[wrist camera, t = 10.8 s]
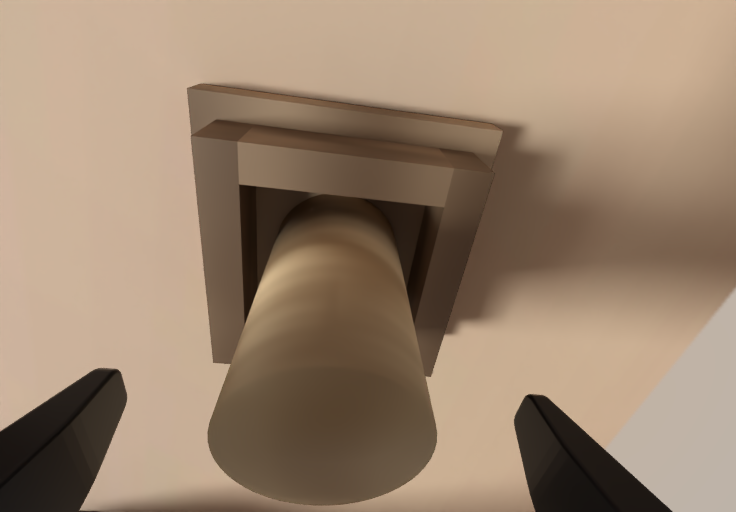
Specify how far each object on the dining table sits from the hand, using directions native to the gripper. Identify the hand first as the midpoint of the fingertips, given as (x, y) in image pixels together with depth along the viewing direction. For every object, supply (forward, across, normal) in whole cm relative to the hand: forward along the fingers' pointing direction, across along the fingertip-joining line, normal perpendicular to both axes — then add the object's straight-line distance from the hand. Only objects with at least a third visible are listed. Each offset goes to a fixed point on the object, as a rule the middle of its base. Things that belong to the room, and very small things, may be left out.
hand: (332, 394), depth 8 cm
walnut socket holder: (+8, 0, 0) cm, 8 cm away
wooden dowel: (+7, 0, 0) cm, 7 cm away
